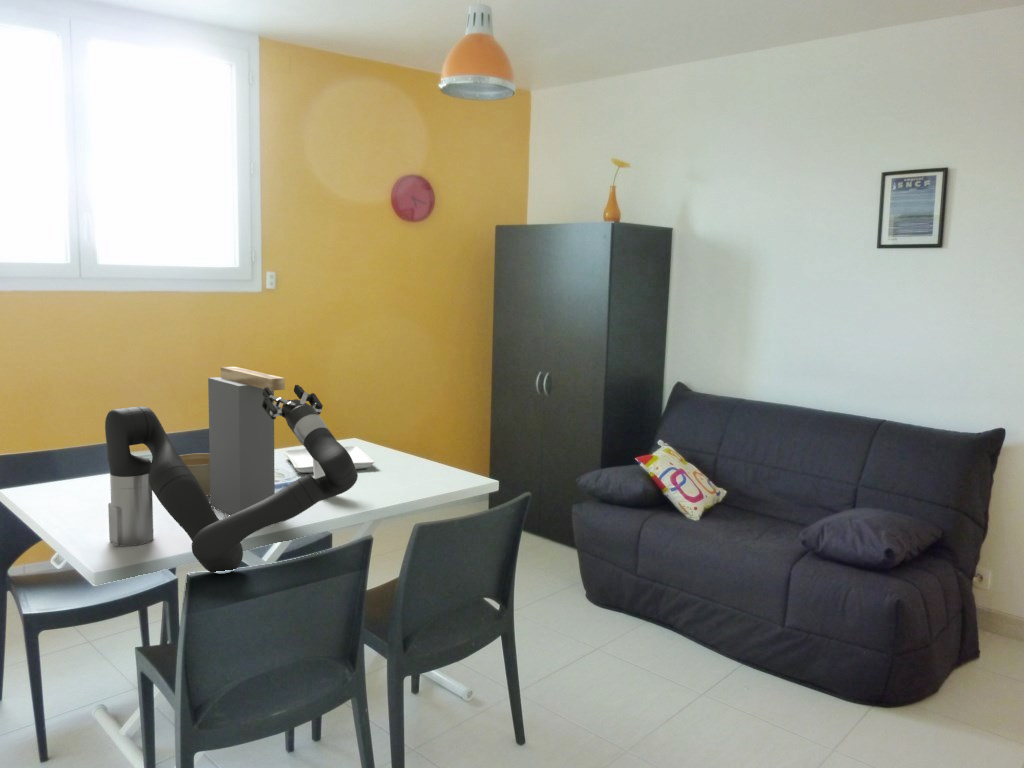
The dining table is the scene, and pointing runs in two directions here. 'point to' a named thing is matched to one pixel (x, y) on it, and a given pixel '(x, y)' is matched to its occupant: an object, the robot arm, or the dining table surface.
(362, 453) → the square plate
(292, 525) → the dining table surface
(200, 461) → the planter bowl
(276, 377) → the block
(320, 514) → the dining table surface
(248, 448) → the stand
